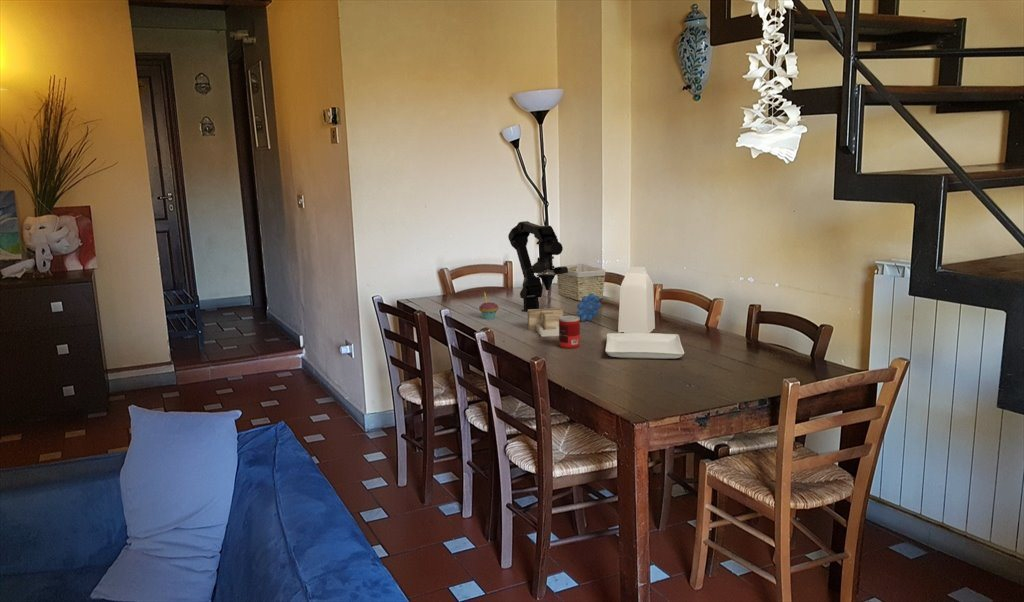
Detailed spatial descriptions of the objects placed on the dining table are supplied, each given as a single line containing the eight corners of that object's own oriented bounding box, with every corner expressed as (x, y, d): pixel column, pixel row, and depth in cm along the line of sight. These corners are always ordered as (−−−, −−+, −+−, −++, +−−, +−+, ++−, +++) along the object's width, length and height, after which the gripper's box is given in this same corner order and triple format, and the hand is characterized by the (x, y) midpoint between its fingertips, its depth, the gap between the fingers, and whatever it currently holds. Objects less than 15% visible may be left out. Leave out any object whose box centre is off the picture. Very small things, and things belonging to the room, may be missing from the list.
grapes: (595, 317, 332) (595, 290, 329) (603, 320, 326) (603, 293, 323) (572, 320, 327) (572, 293, 325) (579, 323, 321) (579, 295, 319)
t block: (528, 328, 315) (527, 309, 313) (561, 326, 317) (560, 307, 315) (533, 336, 301) (533, 316, 300) (568, 334, 303) (568, 314, 301)
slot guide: (536, 330, 311) (536, 324, 311) (556, 329, 312) (556, 323, 312) (541, 336, 300) (541, 330, 300) (561, 335, 301) (561, 329, 301)
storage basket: (555, 294, 388) (554, 266, 385) (582, 291, 394) (582, 263, 391) (577, 302, 366) (577, 272, 363) (606, 299, 373) (606, 269, 370)
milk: (618, 332, 304) (618, 268, 299) (626, 326, 315) (626, 263, 310) (647, 334, 299) (648, 269, 294) (655, 328, 310) (655, 265, 305)
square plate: (605, 361, 265) (605, 350, 264) (606, 341, 291) (606, 332, 290) (684, 362, 261) (684, 351, 260) (678, 342, 287) (678, 332, 287)
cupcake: (476, 319, 334) (475, 292, 332) (484, 315, 342) (483, 289, 339) (494, 320, 331) (493, 293, 328) (501, 316, 338) (501, 290, 336)
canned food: (582, 344, 287) (581, 316, 285) (576, 349, 279) (576, 320, 277) (562, 343, 289) (562, 315, 287) (556, 348, 282) (556, 319, 280)
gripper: (517, 256, 330) (519, 292, 332) (554, 255, 319) (556, 292, 321) (531, 254, 339) (533, 289, 341) (567, 253, 328) (569, 289, 330)
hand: (547, 290), depth 333 cm, fingers closed
